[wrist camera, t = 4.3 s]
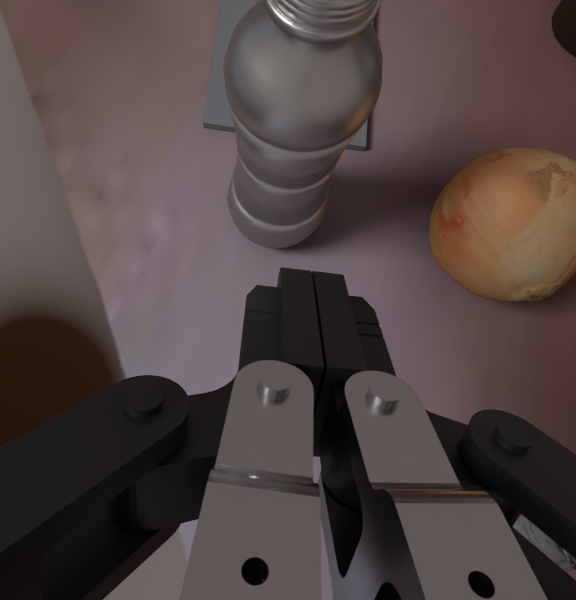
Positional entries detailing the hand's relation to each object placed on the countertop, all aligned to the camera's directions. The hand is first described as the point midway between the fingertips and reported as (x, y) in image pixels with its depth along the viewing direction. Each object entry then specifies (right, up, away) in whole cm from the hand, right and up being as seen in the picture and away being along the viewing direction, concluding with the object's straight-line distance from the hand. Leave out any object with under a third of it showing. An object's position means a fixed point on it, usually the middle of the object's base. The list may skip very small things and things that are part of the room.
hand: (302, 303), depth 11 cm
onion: (+13, +4, +23) cm, 27 cm away
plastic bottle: (-1, +6, +22) cm, 23 cm away
